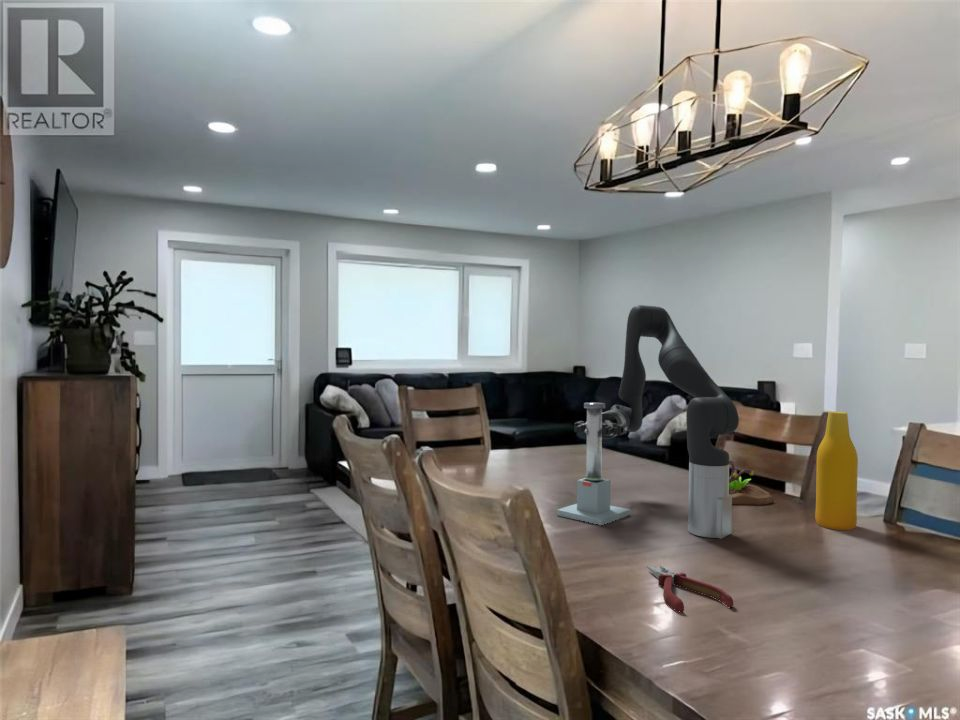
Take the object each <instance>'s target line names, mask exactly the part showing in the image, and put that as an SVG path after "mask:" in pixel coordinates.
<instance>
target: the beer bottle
mask: <svg viewBox="0 0 960 720" xmlns="http://www.w3.org/2000/svg"><path fill="white" fill-rule="evenodd" d="M827 414H828V415H827V420H826V427H825V434H824V437H823V438H822V441H820V444H819V445H818V448H817V452H816V481H815V483H816V484H815V516H814V517H815V523H816V524H817V525H818V526H820V527H822V528H826V529H830V530H831V529H832V530H837V531H838V530H839V531H852V530H855V528H856V527H857V522H858V521H857V520H858V519H857V518H858V517H857V514H858V513H857V512H858V511H857V508H858V507H857V506H858V503H857V502H858V464H859V463H858V462H859V461H858V460H859V459H858V453H857V450H856V447H855V445H854V442H853V441H852V439H851V436H850V428H849V426H850V425H849V417H848V412H844V411H828V413H827Z"/></svg>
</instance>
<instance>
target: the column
mask: <svg viewBox="0 0 960 720" xmlns="http://www.w3.org/2000/svg"><path fill="white" fill-rule="evenodd" d="M583 408H584V409H586V421H587V433H586V464H585V465H586V466H585V467H586V470H585V471H586V475H585V478H586V481H589V482H594V483H598V482H601V481H602V479H603V477H602V467H603V466H602V463H603V462H602V461H603V460H602V458H603V456H602V450H603V445H602V443H603V442H602V441H603V438H602V413H603V409H606V403H604V402H593V401H592V402H584V403H583Z"/></svg>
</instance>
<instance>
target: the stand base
mask: <svg viewBox="0 0 960 720" xmlns="http://www.w3.org/2000/svg"><path fill="white" fill-rule="evenodd" d="M611 484H612V483H611V479H607V478H602V481H601V482H598V483H594V482H589V481H586V477H584V478H581V479H580V478H579V479H577V480H576V503H574V504H571V505H568V506H564V507H561V508H558V509H556V516H559V517H562V518H567V519H571V520H576V521H579V520H580V521H579V522H583V521H585V522H584V523H588V522H589V524H592V523H593V525H596V524H598V525H597V526H601V525H603V526H605V525H607V523H608V524H610V523H612V521H613V522H615V520H616V521H619V520H621V519H623V518H625V517H628V515H629V516H630V515H631V509H629V508H625V507H619V506H615V505H611ZM620 518H621V519H620ZM604 524H605V525H604Z"/></svg>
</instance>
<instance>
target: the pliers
mask: <svg viewBox="0 0 960 720" xmlns="http://www.w3.org/2000/svg"><path fill="white" fill-rule="evenodd" d="M646 568H647V569H648V570H649V572H651V573H652V574H653V576H655V577H656V578H657V579H658V586H659V585H661V586H660V587H663V593H662V595H663V600H664V602H665V604H666V605H667V604H668V605H669V606H670V607H669V606H668V605H667V606H668V607H669V608H671V607H672V608H673V609H675V610H676V611H680V612H683V611H684V612H685V604H684V601H683V600H682V599H681V598H679V597H678V596H677V595H676V594H674V593H673V591H672V590H673V589H672V587H673V585H672V584H675V585H674V586H676V585H678V586H677V587H679V586H681V587H680V588H682V587H684V588H683V589H685V588H687V589H686V590H688V589H690V590H689V591H691V590H693V591H692V592H694V591H696V592H695V593H697V592H700V593H703V594H706V595H709V596H712V597H714V598H716V599H718V600H720V601H721V602H723V603H724V604H725V605H727V606H728V607H732V606H733V607H734V599H733V597H732V596H731V595H729V594H728V593H727V592H726V591H725V590H723V589H722V588H720V587H718V586H715V585H712V584H710V583H706V582H704V581H699V580H696V579H693V578H690V577H687V574H686V573H684V572H679V573H674V571H672V570H670V569H668V568H666V567H664V566H661V565H659V568H660V569H659V568H657V567H653V566H650V565H646ZM671 589H672V590H671ZM700 593H699V594H700ZM703 594H702V595H703ZM706 595H705V596H706ZM709 596H708V597H709ZM714 598H713V599H714ZM716 599H715V600H716ZM718 600H717V601H718ZM721 602H720V603H721ZM725 605H724V606H725ZM733 607H732V608H733ZM672 608H671V609H672ZM673 609H672V610H673ZM675 610H674V611H675ZM676 611H675V612H676Z"/></svg>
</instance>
